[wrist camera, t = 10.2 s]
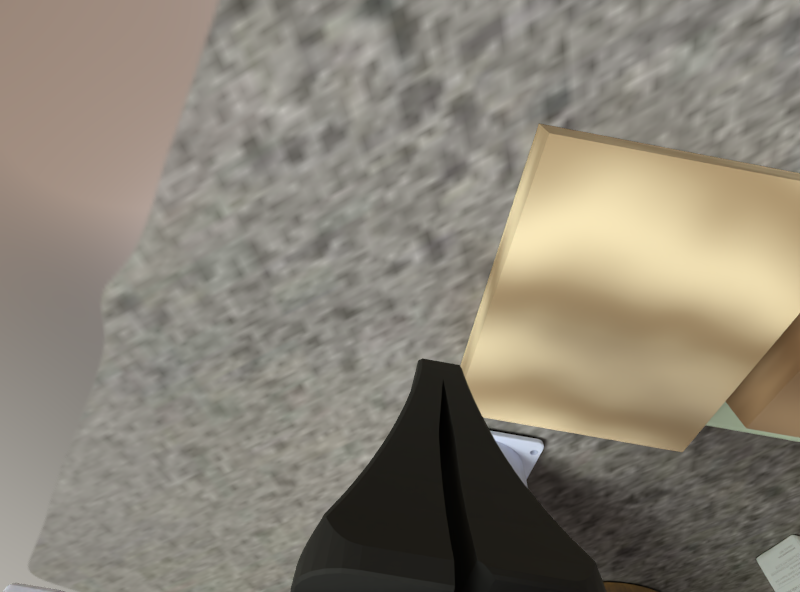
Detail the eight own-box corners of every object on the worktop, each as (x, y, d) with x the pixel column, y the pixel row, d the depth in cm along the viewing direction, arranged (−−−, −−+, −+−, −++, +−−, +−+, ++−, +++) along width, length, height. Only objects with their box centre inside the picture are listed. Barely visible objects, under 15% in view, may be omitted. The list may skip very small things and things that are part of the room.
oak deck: (667, 425, 27) (682, 452, 25) (453, 387, 27) (454, 412, 25) (853, 183, 18) (895, 199, 16) (538, 123, 18) (549, 133, 16)
